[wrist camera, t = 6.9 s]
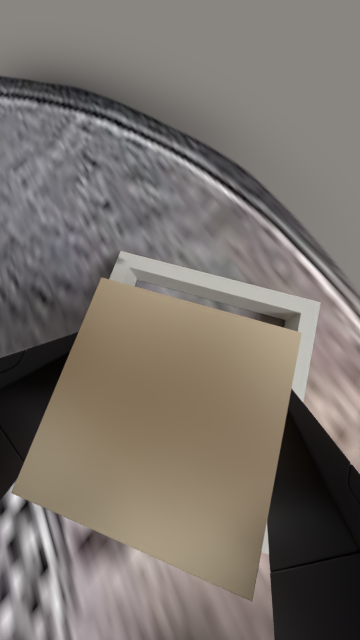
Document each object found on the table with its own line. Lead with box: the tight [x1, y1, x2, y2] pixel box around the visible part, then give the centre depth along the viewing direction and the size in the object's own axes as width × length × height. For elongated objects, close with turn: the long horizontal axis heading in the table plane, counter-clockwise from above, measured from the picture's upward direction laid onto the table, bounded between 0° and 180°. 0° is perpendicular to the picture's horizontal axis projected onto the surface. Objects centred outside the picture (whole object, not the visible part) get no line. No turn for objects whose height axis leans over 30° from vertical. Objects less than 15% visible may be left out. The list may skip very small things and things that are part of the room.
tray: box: [109, 251, 321, 555], centre depth 15 cm, size 16×16×2 cm
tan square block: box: [12, 277, 302, 601], centre depth 10 cm, size 4×4×13 cm
